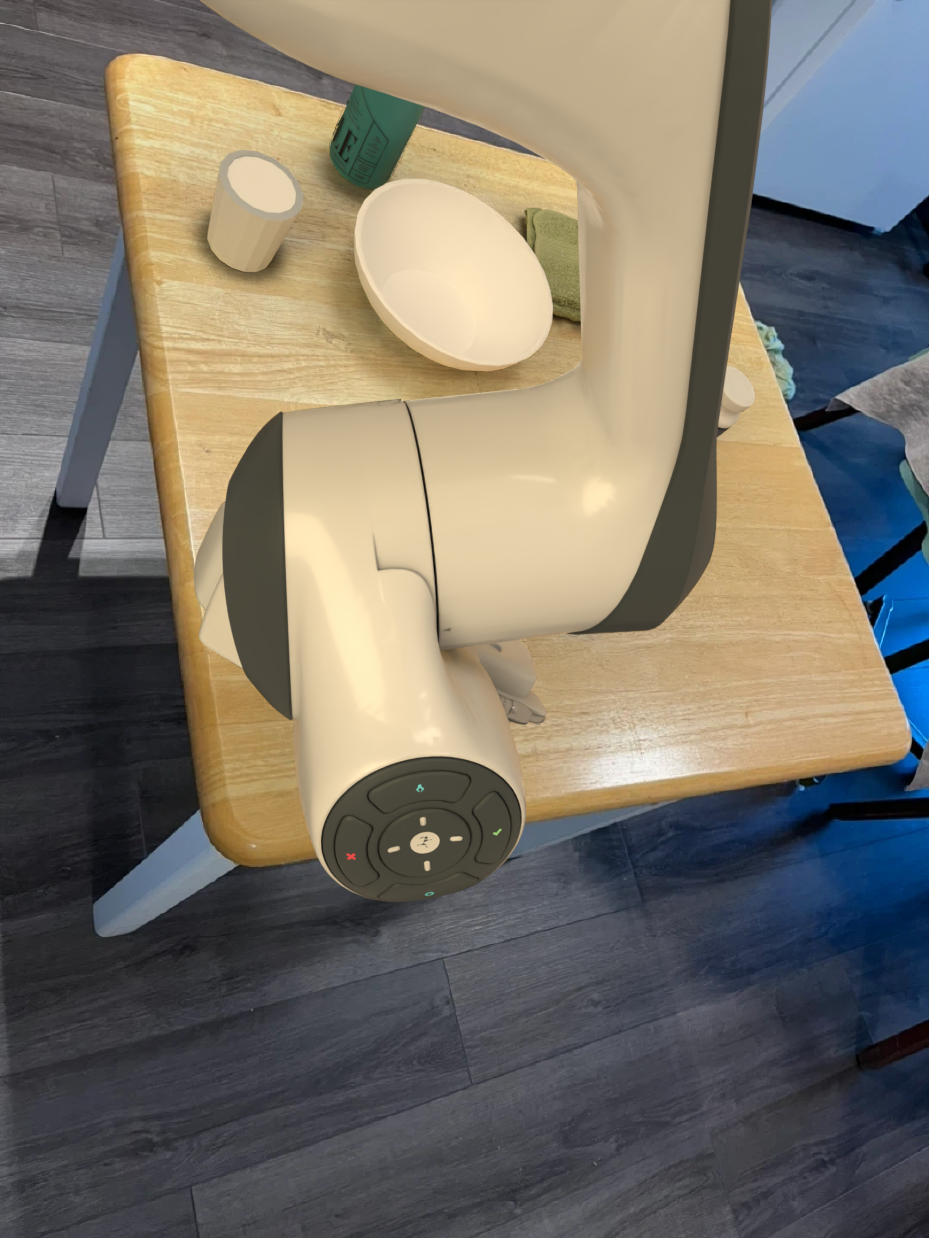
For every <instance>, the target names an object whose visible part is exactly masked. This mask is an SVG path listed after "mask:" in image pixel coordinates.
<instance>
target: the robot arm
mask: <svg viewBox="0 0 929 1238" xmlns="http://www.w3.org/2000/svg"><path fill="white" fill-rule="evenodd" d="M199 1H200V2H201V3H202V4H204V5H205V6H206V7H208V8H209V9H210V10H212V11H213V12H214V13H216V14H218V16H220V17H221V18H223V19H225V20H226V21H228V22H229V23H231V24H233V25H234V26H236V27H237V28H239V29H241V30H242V31H244V32H245V33H247V34H248V35H250V36H252V37H254V38H256V39H257V40H259V41H260V42H262V43H264V44H265V45H267V46H269V47H271V48H273V49H274V50H276V51H279V52H280V53H281V54H283V55H286V56H287V57H290V58H292V59H294V60H296V61H297V62H300V63H302V64H304V65H307V66H309V67H311V68H313V69H315V70H317V71H320V72H322V73H324V74H326V75H329V76H332V77H334V78H335V79H336V78H337V79H339V80H341V81H344V82H346V83H347V82H348V83H350V84H353V85H355V84H356V85H359V86H362V87H366V88H369V89H372V90H375V91H379V92H382V93H385V94H388V95H391V96H394V97H397V98H401V99H404V100H407V101H410V102H413V103H416V104H419V105H422V106H425V108H427V109H432V110H434V111H438V112H440V113H443V114H445V115H448V116H451V117H453V118H456V119H459V120H461V121H464V122H466V123H469V124H472V125H474V126H477V127H479V128H482V129H484V130H486V131H489V132H491V133H493V134H495V135H498V136H501V137H502V138H505V139H506V140H510V141H512V142H513V143H516V144H518V145H520V146H521V147H523V148H524V149H525V148H526V150H529V151H531V152H532V153H534V154H536V155H538V156H540V157H541V158H543V159H545V160H546V161H548V162H550V163H551V164H553V165H555V166H556V167H558V168H559V169H561V170H562V171H563V172H564V173H566V174H567V175H569V176H570V177H571V178H572V179H573V180H574V181H575V185H576V204H577V205H576V206H577V209H576V210H577V220H578V242H579V276H580V309H581V322H580V332H581V333H580V340H581V359H580V361H579V362H578V363H576V365H574V366H573V367H572V368H570V369H569V370H568V371H566V372H564V373H562V374H561V375H559V376H557V377H554V378H552V379H550V380H548V381H545V382H541V383H538V384H536V385H535V384H534V385H530V386H525V387H521V388H513V389H511V388H510V389H502V390H494V391H492V390H491V391H483V392H482V391H481V392H473V393H472V392H471V393H463V394H453V395H444V396H434V397H433V396H432V397H423V398H414V399H404V400H402V398H395V399H385V400H384V399H383V400H374V401H365V402H355V403H347V404H338V405H330V406H320V407H313V408H311V407H310V408H303V409H297V410H290V411H285V412H283V411H279V412H278V413H276V414H275V415H274V416H273V417H271V418H270V419H269V420H268V421H267V422H266V423H264V425H263V426H262V427H261V429H260V430H259V431H258V432H257V433H256V434H255V436H254V437H253V439H252V440H251V442H250V443H249V445H248V446H247V448H246V449H245V451H244V453H243V454H242V455H241V458H240V460H239V461H238V462H237V465H236V467H235V469H234V470H233V473H232V475H231V477H230V478H229V480H228V483H227V487H226V488H227V489H226V494H225V499H224V501H223V502H221V503H220V505H219V506H218V508H217V511H216V512H215V514H214V516H213V517H212V520H211V522H210V524H209V526H208V528H207V530H206V533H205V535H204V537H203V539H202V540H201V541H202V542H201V543H200V545H199V548H198V550H197V552H196V553H197V554H196V556H195V561H194V568H193V588H194V593H195V594H194V595H195V597H196V599H197V601H198V603H199V605H200V606H201V608H202V609H204V611H205V612H204V615H203V618H202V620H201V624H200V627H199V631H198V639H199V640H200V643H202V644H203V645H204V646H205V648H207V649H209V650H210V651H211V652H213V653H215V654H217V655H218V656H220V657H222V658H223V659H225V660H227V661H229V662H230V663H232V664H233V665H234V666H237V667H238V668H239V669H241V670H243V672H244V675H245V676H246V678H247V680H248V681H249V682H250V683H251V684H252V685H253V687H254V688H255V689H256V690H257V691H258V692H259V694H260V695H261V696H262V698H264V699H265V701H267V703H268V704H269V705H270V706H271V707H272V708H273V709H274V710H275V711H277V712H278V713H279V714H280V715H281V716H283V717H284V718H286V719H287V720H289V721H292V720H293V724H292V725H293V730H292V731H293V733H292V734H293V737H292V739H293V756H294V757H293V758H294V768H295V777H296V783H297V789H298V795H299V800H300V801H299V802H300V805H301V811H302V814H303V819H304V822H305V826H306V830H307V833H308V836H309V839H310V842H311V844H312V845H311V846H312V848H313V850H314V853H315V855H316V857H317V859H318V861H319V863H320V865H321V866H322V868H323V870H324V871H325V872H326V873H327V875H329V877H330V878H331V879H333V880H334V882H336V883H337V884H338V885H340V886H341V887H342V888H344V889H346V890H348V891H350V892H351V893H353V894H356V895H358V896H361V897H363V898H365V899H370V900H373V901H377V902H382V903H407V902H408V903H409V902H416V901H417V902H418V901H423V900H424V901H425V900H429V899H431V900H432V899H435V898H439V897H445V896H448V895H452V894H455V893H458V892H462V891H464V890H467V889H470V888H472V887H474V886H475V885H477V884H479V883H481V882H482V881H484V880H485V879H486V878H488V877H489V876H491V875H492V874H493V873H495V871H497V870H498V869H499V868H500V867H501V866H502V865H504V863H505V862H506V861H507V860H508V859H509V857H510V856H511V855H512V853H513V852H514V851H515V849H516V847H517V846H518V844H519V842H520V840H521V837H522V836H523V832H524V828H525V826H526V820H527V819H526V818H527V798H526V789H525V783H524V777H523V769H522V765H521V761H520V758H519V753H518V750H517V749H518V747H517V744H516V741H515V737H514V733H513V731H512V728H511V725H510V724H511V723H514V724H517V725H522V726H526V725H528V723H531V724H535V725H537V726H540V725H541V724H542V723H544V722H545V720H546V716H547V714H548V712H547V709H546V708H545V706H544V704H543V702H542V701H541V699H540V697H539V696H538V695H537V694H536V693H534V692H533V691H532V689H533V688H534V686H535V684H536V683H537V680H538V672H537V667H536V664H535V660H534V659H533V656H532V654H531V652H530V650H529V648H528V647H527V645H526V644H525V643H524V642H522V640H526V639H527V640H528V639H534V638H541V637H548V636H556V635H563V634H567V635H574V636H581V635H583V636H584V635H597V634H598V635H599V634H615V633H632V632H633V633H634V632H647V631H651V630H654V629H656V628H658V627H659V626H660V625H662V624H663V623H665V621H666V620H667V619H668V618H669V617H670V616H671V615H672V614H673V613H674V612H675V611H676V610H677V609H678V608H679V606H680V605H681V604H682V603H683V602H684V601H685V600H686V598H687V597H688V596H689V595H690V593H691V592H692V591H693V590H694V588H695V587H696V585H697V584H698V582H699V581H700V580H701V578H702V577H703V575H704V573H705V571H706V569H707V568H708V566H709V564H710V562H711V559H712V556H713V552H714V547H715V542H716V535H717V534H716V533H717V519H718V517H717V516H718V515H717V514H718V466H717V465H718V464H717V463H718V461H717V460H718V459H717V453H718V451H717V447H718V445H717V444H718V437H717V432H718V423H719V416H720V410H721V403H722V396H723V389H724V382H725V375H726V369H727V366H728V360H729V354H730V347H731V341H732V334H733V327H734V322H735V313H736V307H737V301H738V296H739V288H740V281H741V275H742V268H743V261H744V255H745V250H746V249H745V248H746V241H747V236H748V235H747V234H748V228H749V223H750V214H751V210H752V200H753V195H754V194H753V193H754V186H755V179H756V172H757V165H758V157H759V148H760V141H761V132H762V131H761V130H762V124H763V116H764V106H765V98H766V89H767V88H766V87H767V79H768V68H769V67H768V66H769V57H770V55H769V54H770V44H771V29H772V28H771V27H772V9H773V8H772V7H773V0H199Z"/></svg>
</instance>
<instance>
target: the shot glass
mask: <svg viewBox="0 0 929 1238" xmlns="http://www.w3.org/2000/svg"><path fill="white" fill-rule="evenodd" d="M304 196H305V195H304V192H303V189H302V187H301V184H300V182H299V180H298V179H297V178H296V176H295V175H294V173H292V172H291V170H290V169H289V168H288V167H287V166H286V165H284V164H283V163H282V162H280V161H278V160H277V159H276V158H274V157H273V156H270V155H267V154H265V153H263V152H260V151H258V150H249V149H239V150H236V151H231V152H229V153H227V154H226V155H225V157H224V158H223V159H222V160H221V161H220V163H219V168H218V174H217V180H216V185H215V190H214V195H213V201H212V207H211V213H210V217H209V222H208V228H207V236H206V240H207V243H208V245H209V247H210V250H211V251H212V253H213V254H214V256H216V257H217V259H218V260H219V261H221V262H222V263H223V264H225V265H227V266H228V267H230V268H231V269H234V270H238V271H240V272H242V273H243V272H244V273H258V272H260V271H262V270H265V269H266V268H267V267H268V266H269V265H270V263H271V262H272V260H273V259H274V257H275V256H276V254H277V252H278V250H279V249H280V247H281V245H282V244H283V242H284V240H285V238H286V236H287V235H288V233H289V232H290V230H291V228H292V227H293V224H294V222H295V221H296V219H297V217H298V216H299V214H300V212H301V210H302V209H303V206H304Z"/></svg>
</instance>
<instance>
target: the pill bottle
mask: <svg viewBox="0 0 929 1238" xmlns="http://www.w3.org/2000/svg"><path fill="white" fill-rule="evenodd" d="M755 400H756V392H755V388H754V386H753V384H752V382H751V380H750V379H749V378H748V377H747V375H746V374H745V373H744V372H743V371H741V370H740V369H738V368H736V367H735V366H732V365H727V369H726V375H725V382H724V389H723V396H722V403H721V410H720V416H719V423H718V432H717V438H718V437H720V436H721V435H722V434H724V433H726V431H728V430H729V429H730V428H732V427H733V426H734V425H735V424H737V422H738V421H739V418H740V415H741V413H743V412H745V411H746V410H748V409H750V408H751V407H752V406H753V405H754V403H755Z"/></svg>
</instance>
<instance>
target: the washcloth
mask: <svg viewBox="0 0 929 1238" xmlns="http://www.w3.org/2000/svg"><path fill="white" fill-rule="evenodd" d="M523 211H524V215H525V221H524V222H525V226H526V242H527V244H528V245H529V246H530V248H531V249H532V251H533V252H534V254H535V255H536V257H537V259H538V261H539V263H540V265H541V267H542V268H543V270H544V272H545V275H546V278H547V281H548V284H549V287H550V290H551V297H552V303H553V315H555V316H557V317H561V318H566V319H568V320H570V321H571V322H580V323H581V309H580V276H579V242H578V219H576V218H574V217H571V216H569V215H567V214H564V213H562V212H559V211H556V210H554V209H553V210H552V209H548V208H546V209H542V208H541V207H540V208H539V207H527V208H525V209H524V210H523Z"/></svg>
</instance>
